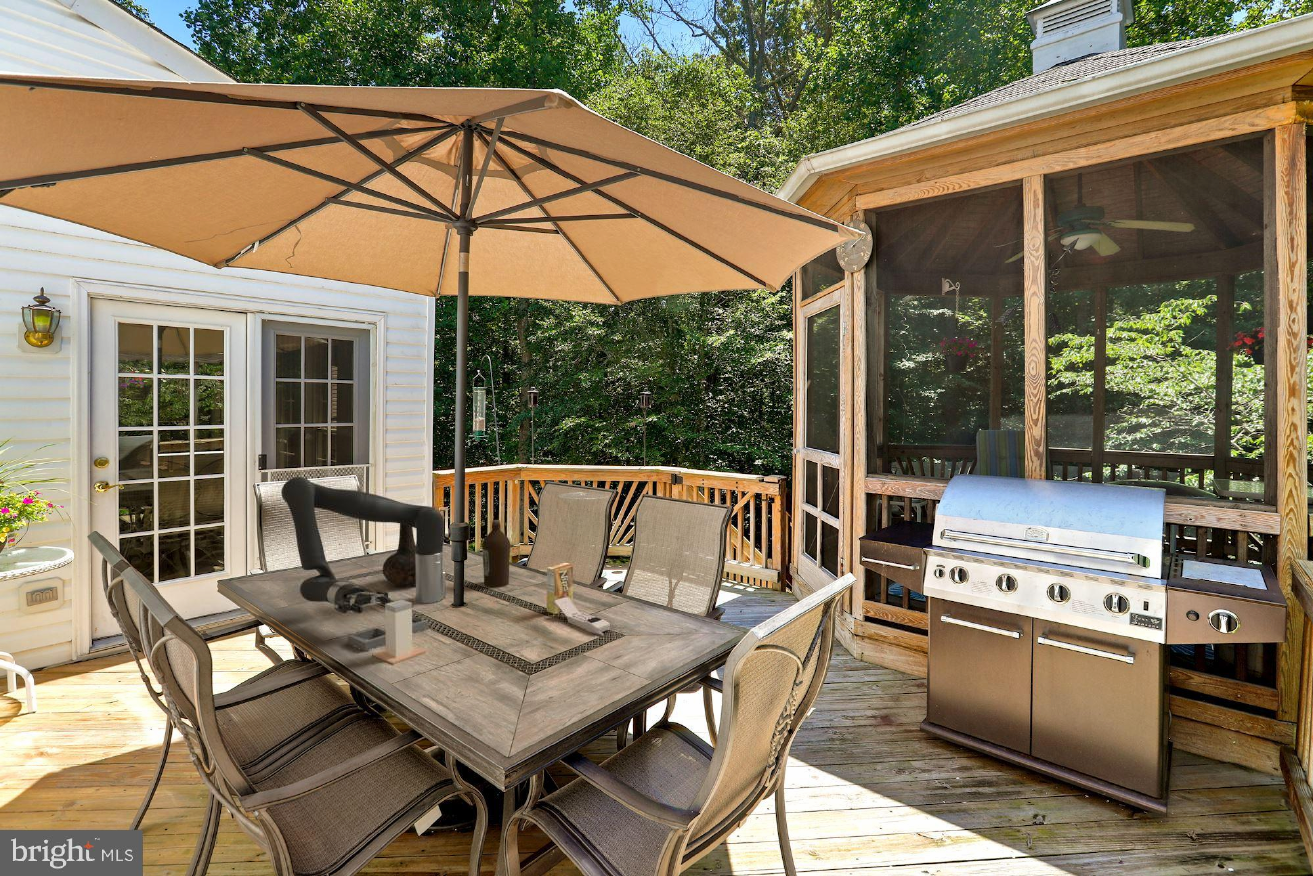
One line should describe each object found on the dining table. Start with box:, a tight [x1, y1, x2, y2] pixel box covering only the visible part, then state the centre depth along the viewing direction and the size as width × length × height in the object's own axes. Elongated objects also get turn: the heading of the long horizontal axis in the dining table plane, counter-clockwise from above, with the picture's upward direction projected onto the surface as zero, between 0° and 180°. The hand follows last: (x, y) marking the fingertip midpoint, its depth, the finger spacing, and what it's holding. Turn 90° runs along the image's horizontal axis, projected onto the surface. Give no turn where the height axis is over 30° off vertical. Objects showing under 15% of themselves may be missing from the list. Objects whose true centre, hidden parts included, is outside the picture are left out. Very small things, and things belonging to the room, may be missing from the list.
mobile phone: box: [555, 597, 610, 637], centre depth 199 cm, size 6×6×25 cm
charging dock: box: [347, 616, 429, 652], centre depth 188 cm, size 21×9×3 cm, turn 145°
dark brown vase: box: [382, 523, 416, 587], centre depth 242 cm, size 18×18×28 cm
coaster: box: [372, 645, 427, 665], centre depth 175 cm, size 10×10×1 cm
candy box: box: [546, 562, 574, 615], centre depth 213 cm, size 9×4×15 cm, turn 145°
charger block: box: [384, 599, 413, 657], centre depth 174 cm, size 5×5×14 cm
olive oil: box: [481, 519, 511, 588], centre depth 242 cm, size 11×11×25 cm
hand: (375, 605), depth 182 cm, fingers open, 8 cm apart
